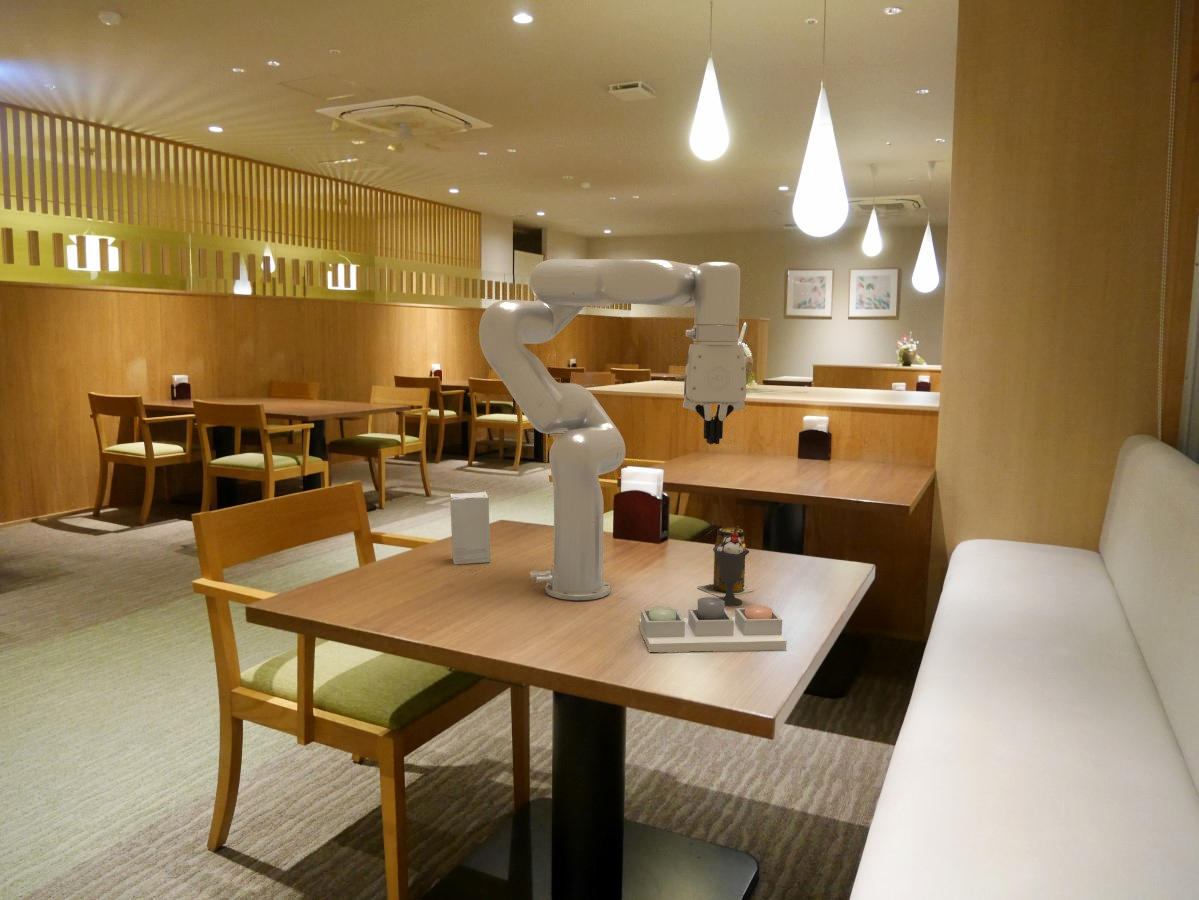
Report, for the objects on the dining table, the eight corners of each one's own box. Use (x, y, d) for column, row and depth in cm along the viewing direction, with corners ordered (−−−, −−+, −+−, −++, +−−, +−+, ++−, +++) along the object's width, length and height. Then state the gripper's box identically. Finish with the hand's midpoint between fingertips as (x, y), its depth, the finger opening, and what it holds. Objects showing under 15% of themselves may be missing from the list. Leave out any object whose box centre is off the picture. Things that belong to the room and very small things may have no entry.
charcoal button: (700, 623, 139) (700, 605, 139) (694, 614, 143) (695, 597, 143) (726, 623, 139) (727, 605, 139) (720, 614, 144) (721, 596, 143)
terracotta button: (748, 631, 140) (749, 613, 140) (741, 622, 144) (742, 605, 144) (774, 630, 140) (775, 613, 140) (767, 622, 145) (767, 604, 144)
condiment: (753, 591, 169) (755, 531, 167) (720, 598, 164) (722, 536, 162) (728, 582, 175) (730, 524, 173) (696, 588, 170) (697, 529, 168)
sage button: (651, 633, 138) (651, 615, 138) (647, 624, 143) (647, 606, 142) (678, 632, 139) (678, 614, 138) (673, 623, 143) (673, 606, 143)
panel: (648, 652, 135) (649, 628, 134) (638, 627, 147) (638, 604, 146) (786, 649, 137) (787, 625, 136) (765, 624, 149) (766, 602, 148)
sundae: (739, 609, 157) (742, 529, 155) (705, 603, 160) (708, 524, 158) (753, 600, 162) (756, 522, 160) (720, 594, 166) (722, 518, 164)
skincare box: (488, 556, 192) (488, 491, 190) (490, 563, 186) (490, 496, 184) (450, 558, 190) (449, 492, 188) (451, 565, 184) (451, 497, 182)
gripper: (676, 335, 142) (674, 446, 144) (765, 337, 143) (761, 446, 146) (668, 335, 149) (666, 440, 152) (753, 336, 151) (749, 440, 153)
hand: (712, 442), depth 149 cm, fingers closed
